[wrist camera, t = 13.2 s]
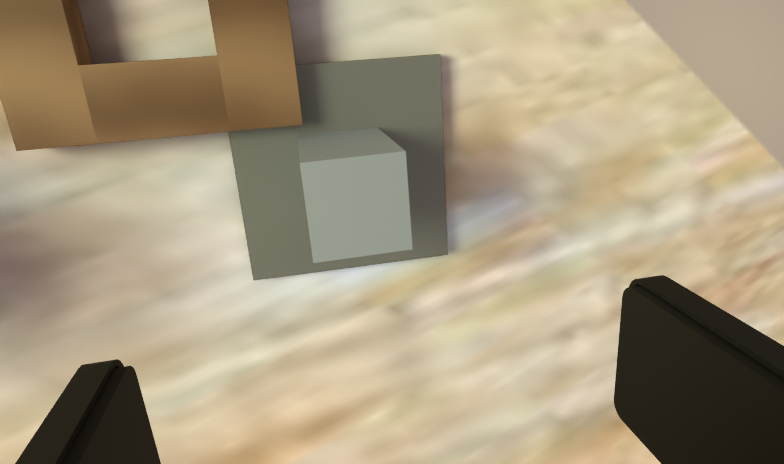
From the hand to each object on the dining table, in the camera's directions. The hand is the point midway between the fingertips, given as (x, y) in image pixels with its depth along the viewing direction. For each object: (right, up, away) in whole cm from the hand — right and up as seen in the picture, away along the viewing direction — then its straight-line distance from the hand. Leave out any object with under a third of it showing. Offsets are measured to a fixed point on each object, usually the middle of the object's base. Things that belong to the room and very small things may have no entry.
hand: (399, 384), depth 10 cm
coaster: (-3, +7, +21) cm, 22 cm away
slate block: (-3, +6, +20) cm, 22 cm away
